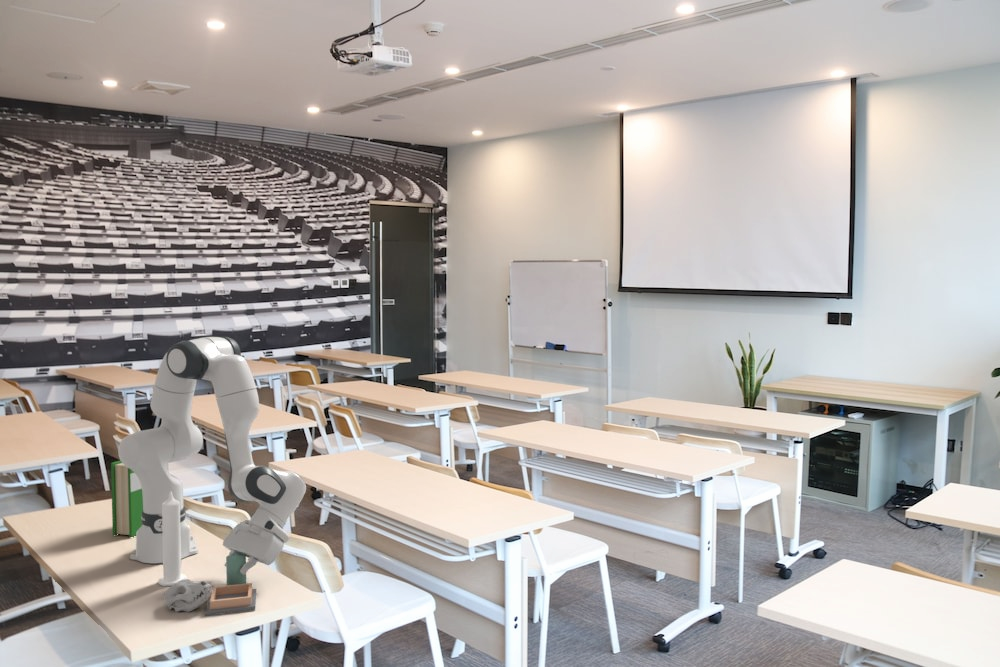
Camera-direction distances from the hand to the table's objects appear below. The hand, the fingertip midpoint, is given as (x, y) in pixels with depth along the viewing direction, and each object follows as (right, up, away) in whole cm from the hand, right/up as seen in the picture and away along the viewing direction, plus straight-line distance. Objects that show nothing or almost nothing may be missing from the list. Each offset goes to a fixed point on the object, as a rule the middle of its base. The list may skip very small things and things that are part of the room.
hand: (234, 570), depth 201 cm
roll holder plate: (+3, -5, -11) cm, 12 cm away
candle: (-18, -4, +4) cm, 19 cm away
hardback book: (-48, -2, +49) cm, 69 cm away
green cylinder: (0, -4, +1) cm, 4 cm away
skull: (-7, -5, -14) cm, 16 cm away
